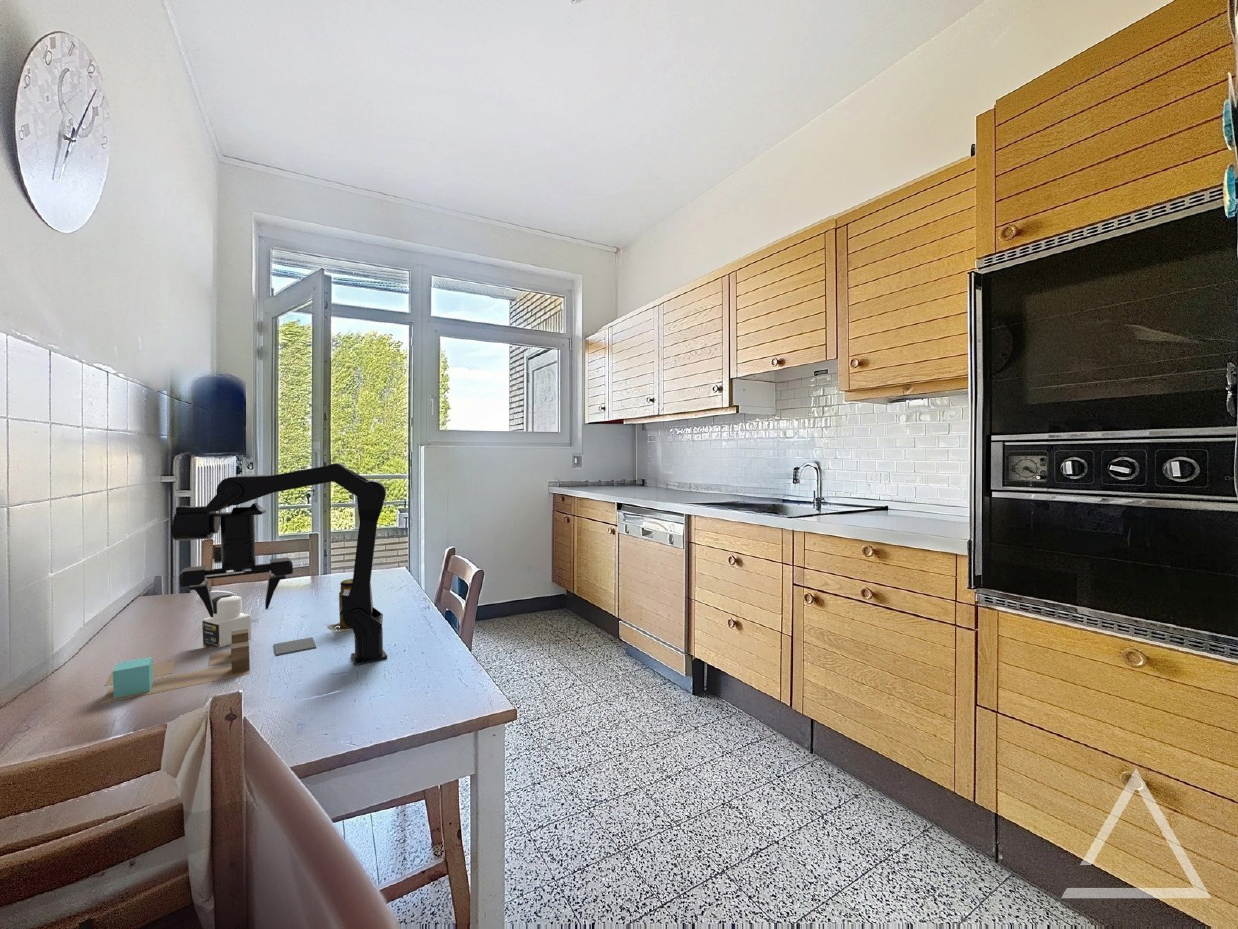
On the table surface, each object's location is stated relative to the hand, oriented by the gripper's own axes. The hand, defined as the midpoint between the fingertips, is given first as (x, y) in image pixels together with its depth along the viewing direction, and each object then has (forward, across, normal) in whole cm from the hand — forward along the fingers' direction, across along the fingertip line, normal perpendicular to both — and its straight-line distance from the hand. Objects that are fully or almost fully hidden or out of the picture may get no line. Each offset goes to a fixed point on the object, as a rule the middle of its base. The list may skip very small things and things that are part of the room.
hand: (240, 612), depth 112 cm
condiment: (+13, -23, -22) cm, 35 cm away
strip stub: (+13, +2, -10) cm, 16 cm away
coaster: (+13, -10, -12) cm, 20 cm away
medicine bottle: (+13, +3, -23) cm, 27 cm away
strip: (+13, +10, 0) cm, 16 cm away
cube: (+12, +17, 0) cm, 20 cm away
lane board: (+13, +14, -5) cm, 20 cm away
